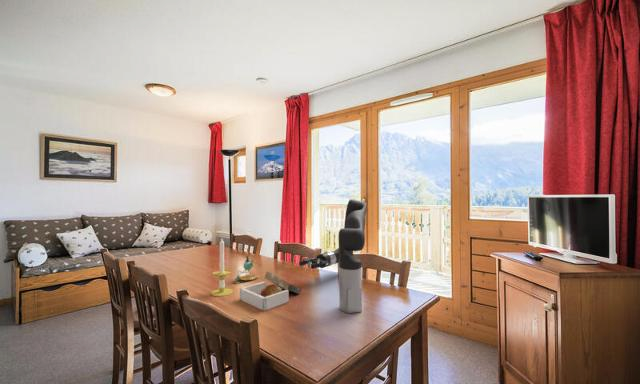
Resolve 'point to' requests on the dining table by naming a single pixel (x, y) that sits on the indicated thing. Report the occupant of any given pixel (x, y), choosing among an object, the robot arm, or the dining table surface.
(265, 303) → the box
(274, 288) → the bread roll
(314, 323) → the dining table surface
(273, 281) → the scraper
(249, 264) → the frog figurine
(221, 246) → the candle
